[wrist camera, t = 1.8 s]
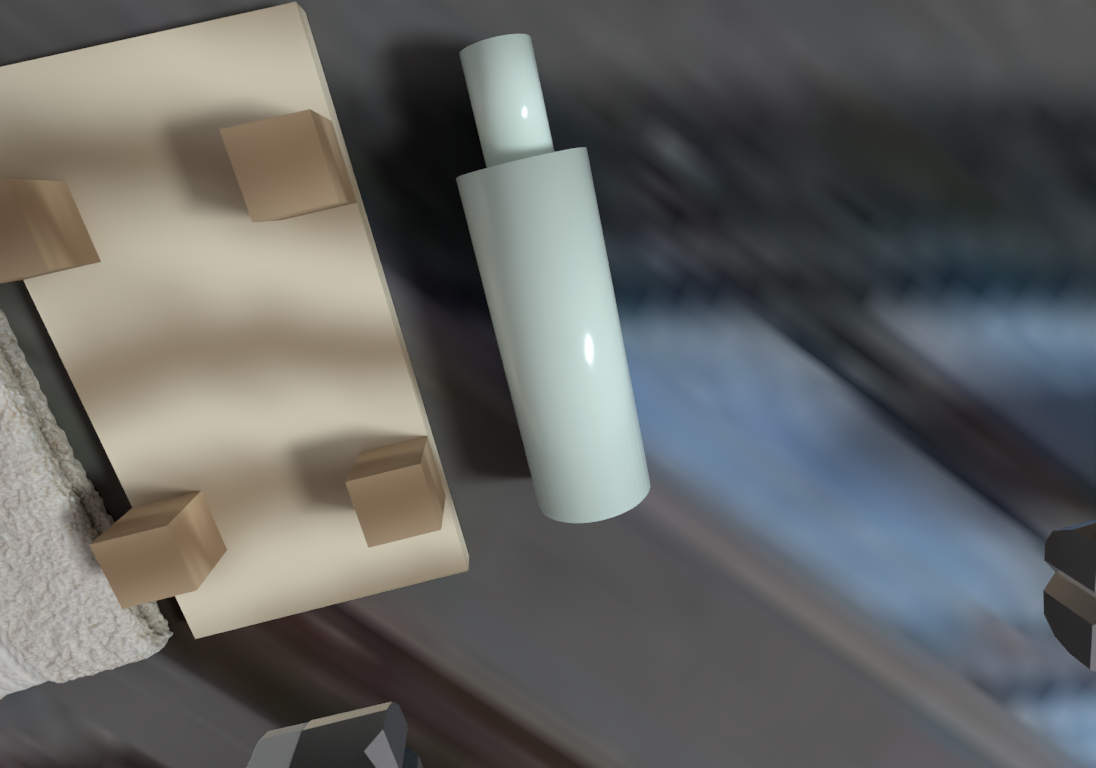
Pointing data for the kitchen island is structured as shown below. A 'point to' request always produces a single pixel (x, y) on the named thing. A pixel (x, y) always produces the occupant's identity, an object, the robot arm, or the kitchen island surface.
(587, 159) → the ceramic bottle
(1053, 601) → the robot arm
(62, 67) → the board
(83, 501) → the washcloth
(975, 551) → the kitchen island surface
